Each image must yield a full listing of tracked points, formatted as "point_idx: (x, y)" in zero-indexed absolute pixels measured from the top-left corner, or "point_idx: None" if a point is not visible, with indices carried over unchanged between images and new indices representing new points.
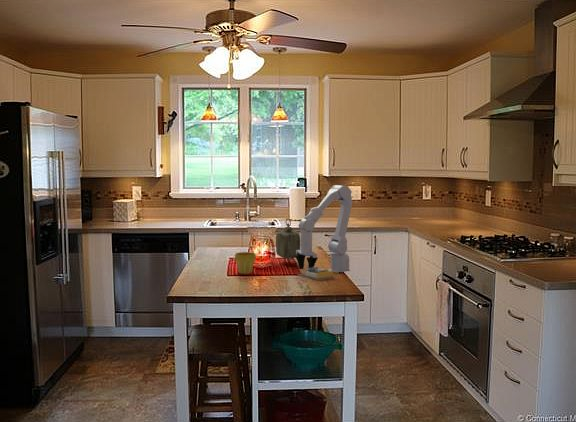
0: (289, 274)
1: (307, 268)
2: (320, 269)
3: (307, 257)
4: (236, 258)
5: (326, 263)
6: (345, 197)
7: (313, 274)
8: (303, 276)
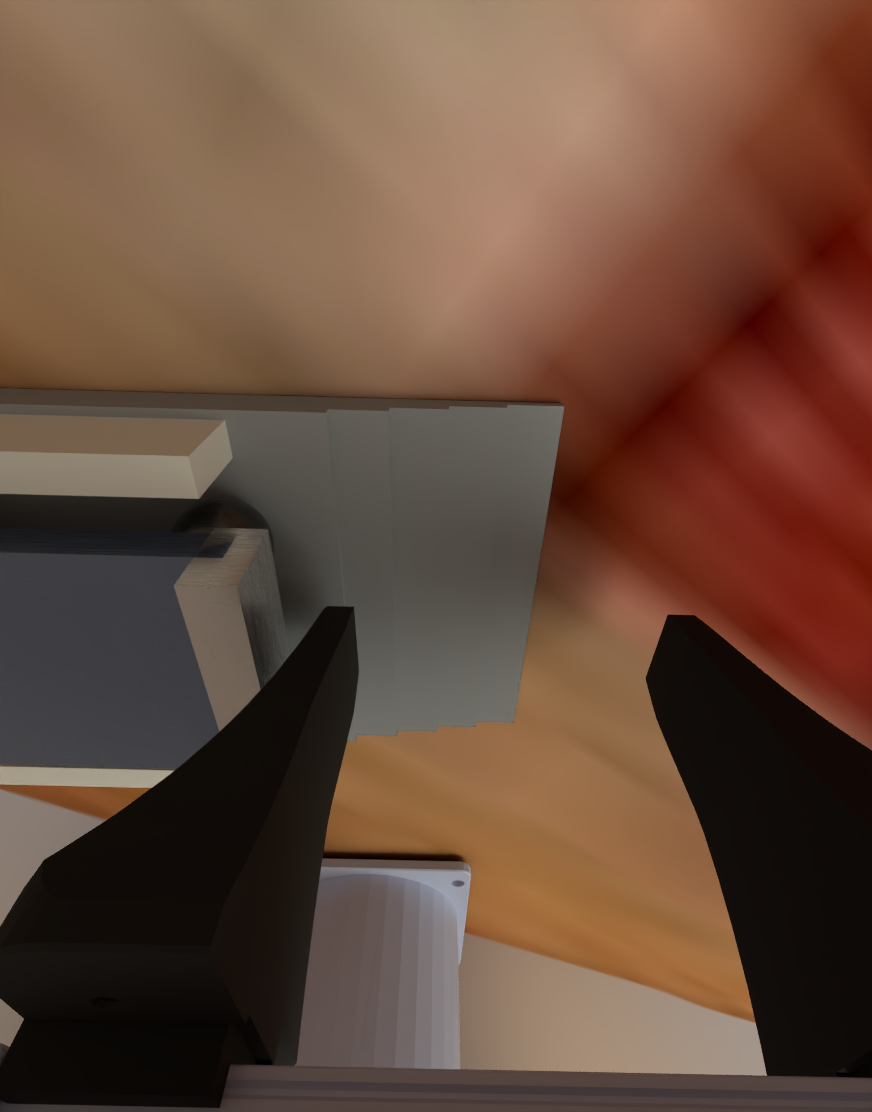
0: (759, 288)
1: (231, 570)
2: (90, 732)
3: (219, 977)
4: None
5: (738, 988)
6: None
7: None
8: (324, 397)
